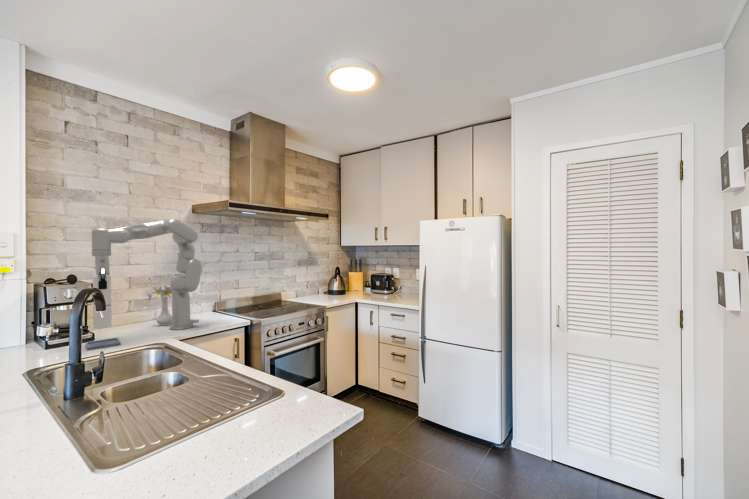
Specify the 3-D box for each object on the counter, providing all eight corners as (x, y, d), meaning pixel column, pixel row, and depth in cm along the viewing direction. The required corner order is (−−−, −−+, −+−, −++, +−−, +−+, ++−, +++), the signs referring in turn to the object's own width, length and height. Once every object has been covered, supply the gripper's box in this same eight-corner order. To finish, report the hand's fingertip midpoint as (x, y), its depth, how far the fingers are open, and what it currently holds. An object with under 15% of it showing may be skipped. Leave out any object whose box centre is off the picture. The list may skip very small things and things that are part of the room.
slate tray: (117, 340, 179) (117, 337, 179) (120, 345, 170) (120, 342, 170) (85, 345, 171) (85, 342, 171) (86, 350, 161) (86, 347, 161)
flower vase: (144, 326, 213) (143, 286, 213) (176, 321, 227) (176, 283, 227) (150, 329, 205) (149, 287, 205) (183, 323, 218) (182, 285, 218)
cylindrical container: (95, 326, 172) (95, 276, 172) (113, 324, 175) (112, 276, 175) (91, 329, 165) (90, 277, 165) (109, 327, 168) (108, 277, 168)
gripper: (112, 253, 166) (113, 289, 166) (109, 253, 179) (109, 286, 179) (93, 253, 161) (93, 290, 161) (90, 253, 174) (91, 288, 174)
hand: (102, 288), depth 170 cm, fingers closed on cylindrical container, 7 cm apart
